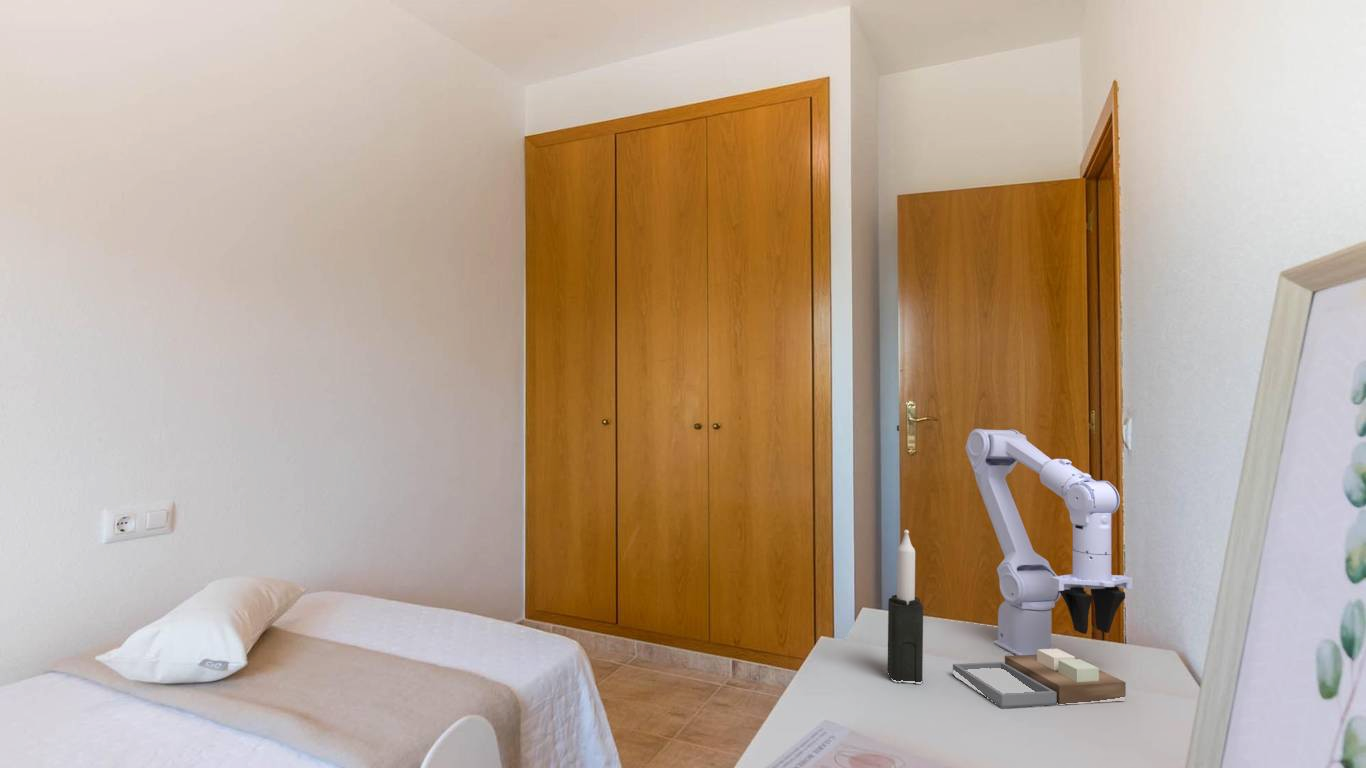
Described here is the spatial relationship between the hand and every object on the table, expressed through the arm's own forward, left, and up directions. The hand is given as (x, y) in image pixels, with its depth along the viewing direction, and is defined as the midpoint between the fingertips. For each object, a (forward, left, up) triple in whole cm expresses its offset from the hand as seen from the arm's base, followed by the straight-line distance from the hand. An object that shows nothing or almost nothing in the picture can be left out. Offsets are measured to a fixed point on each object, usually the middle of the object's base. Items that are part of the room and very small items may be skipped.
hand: (1091, 631), depth 115 cm
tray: (+2, -18, -8) cm, 20 cm away
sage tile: (+5, -7, -5) cm, 10 cm away
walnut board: (+2, -7, -8) cm, 11 cm away
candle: (-5, -32, -9) cm, 34 cm away
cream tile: (0, -7, -5) cm, 9 cm away
